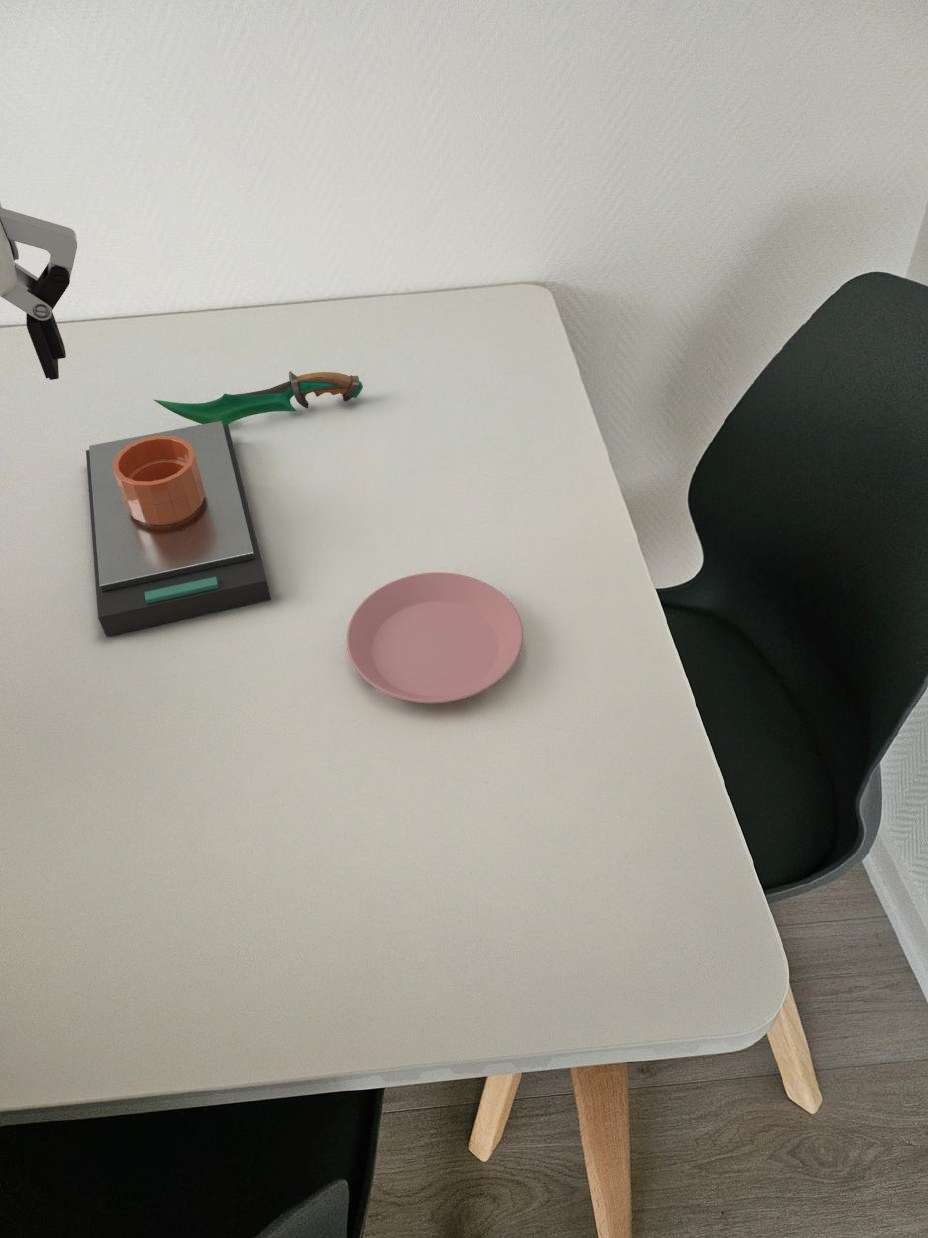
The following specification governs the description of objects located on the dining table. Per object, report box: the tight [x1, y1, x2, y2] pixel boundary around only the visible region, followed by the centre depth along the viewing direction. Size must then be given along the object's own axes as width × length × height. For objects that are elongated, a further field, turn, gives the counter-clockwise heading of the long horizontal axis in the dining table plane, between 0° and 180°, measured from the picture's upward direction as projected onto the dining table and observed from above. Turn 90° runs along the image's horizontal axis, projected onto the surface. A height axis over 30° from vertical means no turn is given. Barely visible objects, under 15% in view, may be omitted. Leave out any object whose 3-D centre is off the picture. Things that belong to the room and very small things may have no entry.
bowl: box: [113, 436, 205, 525], centre depth 88 cm, size 7×7×5 cm
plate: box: [346, 571, 524, 704], centre depth 80 cm, size 14×14×2 cm
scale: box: [85, 421, 272, 638], centre depth 91 cm, size 14×24×3 cm, turn 17°
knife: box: [153, 370, 364, 425], centre depth 102 cm, size 21×2×5 cm, turn 108°
